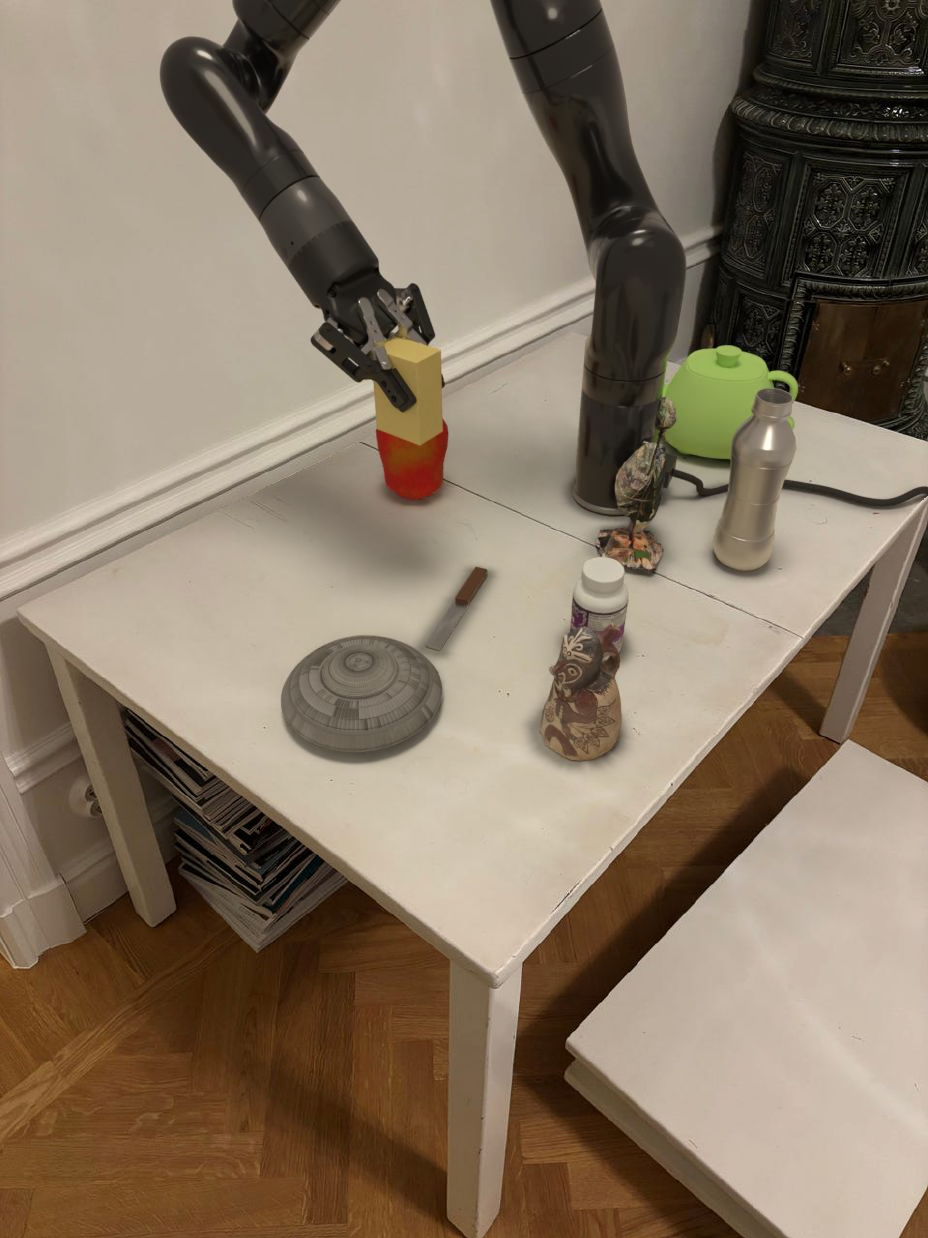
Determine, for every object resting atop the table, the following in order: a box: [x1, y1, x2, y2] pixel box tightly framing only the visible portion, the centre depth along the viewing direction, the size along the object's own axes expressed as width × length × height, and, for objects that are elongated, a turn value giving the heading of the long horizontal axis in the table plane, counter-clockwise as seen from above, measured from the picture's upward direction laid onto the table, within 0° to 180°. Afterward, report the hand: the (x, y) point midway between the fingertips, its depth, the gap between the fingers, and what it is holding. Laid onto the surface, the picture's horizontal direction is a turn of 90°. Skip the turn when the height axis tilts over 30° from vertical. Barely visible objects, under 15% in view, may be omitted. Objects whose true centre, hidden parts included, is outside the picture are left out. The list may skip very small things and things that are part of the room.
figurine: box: [539, 623, 623, 761], centre depth 82 cm, size 7×7×12 cm
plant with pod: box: [595, 396, 677, 574], centre depth 101 cm, size 8×11×20 cm
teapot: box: [662, 344, 799, 461], centre depth 123 cm, size 22×15×13 cm
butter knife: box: [425, 566, 488, 651], centre depth 99 cm, size 14×2×1 cm, turn 158°
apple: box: [375, 418, 449, 501], centre depth 114 cm, size 9×8×12 cm
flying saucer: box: [280, 634, 443, 753], centre depth 87 cm, size 15×15×6 cm
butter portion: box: [372, 337, 444, 445], centre depth 90 cm, size 4×6×8 cm, turn 53°
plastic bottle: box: [712, 387, 797, 572], centre depth 99 cm, size 6×7×20 cm
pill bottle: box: [569, 556, 630, 661], centre depth 92 cm, size 5×5×10 cm
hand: (424, 398), depth 90 cm, fingers closed on butter portion, 3 cm apart
